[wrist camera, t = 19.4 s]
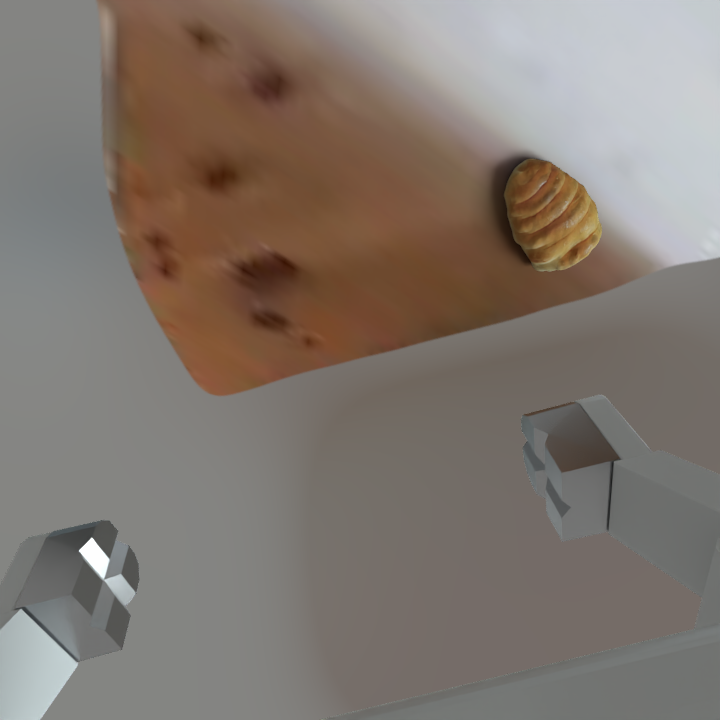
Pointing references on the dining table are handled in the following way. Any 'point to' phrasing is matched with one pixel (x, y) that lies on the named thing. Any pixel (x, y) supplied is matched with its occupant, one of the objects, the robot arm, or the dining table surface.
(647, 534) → the robot arm
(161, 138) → the dining table surface
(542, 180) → the pastry
